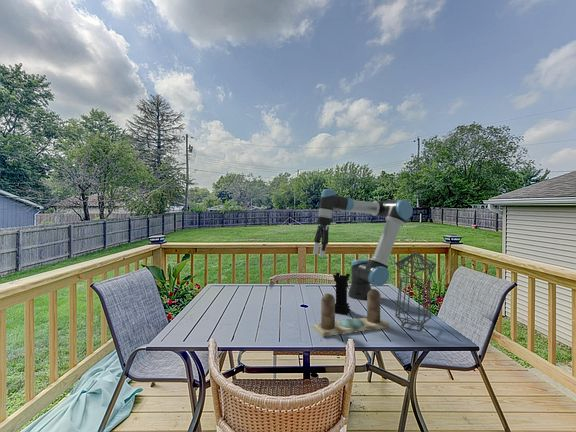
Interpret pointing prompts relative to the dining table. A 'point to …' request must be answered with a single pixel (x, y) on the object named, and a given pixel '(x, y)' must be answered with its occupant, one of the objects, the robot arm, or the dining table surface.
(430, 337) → the dining table surface
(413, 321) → the geometric lantern
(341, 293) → the chess piece
